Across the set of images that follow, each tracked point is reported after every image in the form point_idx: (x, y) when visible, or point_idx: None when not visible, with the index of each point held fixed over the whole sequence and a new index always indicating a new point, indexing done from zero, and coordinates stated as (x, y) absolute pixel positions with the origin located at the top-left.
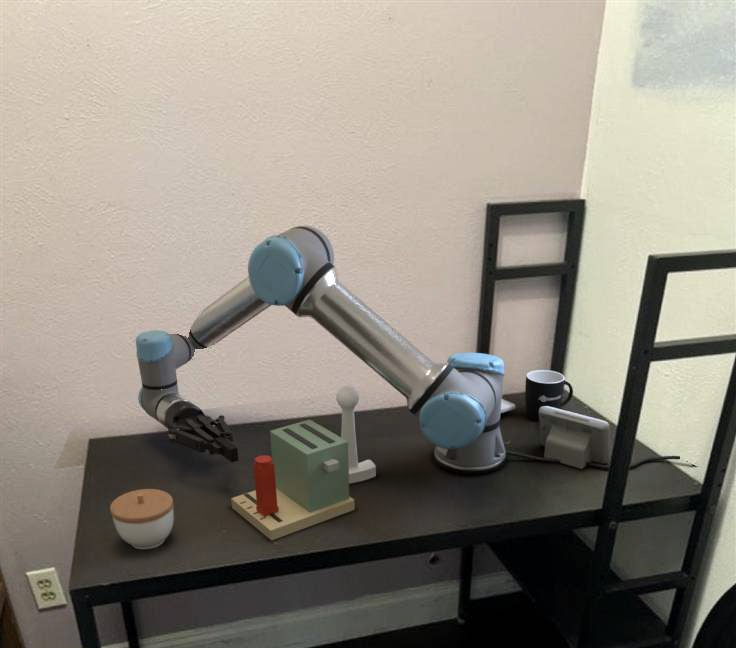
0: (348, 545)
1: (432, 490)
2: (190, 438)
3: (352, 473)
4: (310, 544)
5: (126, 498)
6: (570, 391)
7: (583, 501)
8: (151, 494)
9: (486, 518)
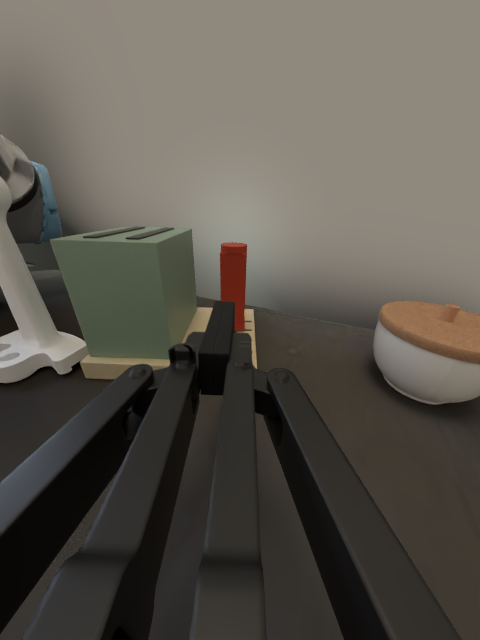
0: (202, 298)
1: (57, 306)
2: (324, 426)
3: (62, 332)
4: None
5: None
6: None
7: (43, 272)
8: (431, 327)
9: None
